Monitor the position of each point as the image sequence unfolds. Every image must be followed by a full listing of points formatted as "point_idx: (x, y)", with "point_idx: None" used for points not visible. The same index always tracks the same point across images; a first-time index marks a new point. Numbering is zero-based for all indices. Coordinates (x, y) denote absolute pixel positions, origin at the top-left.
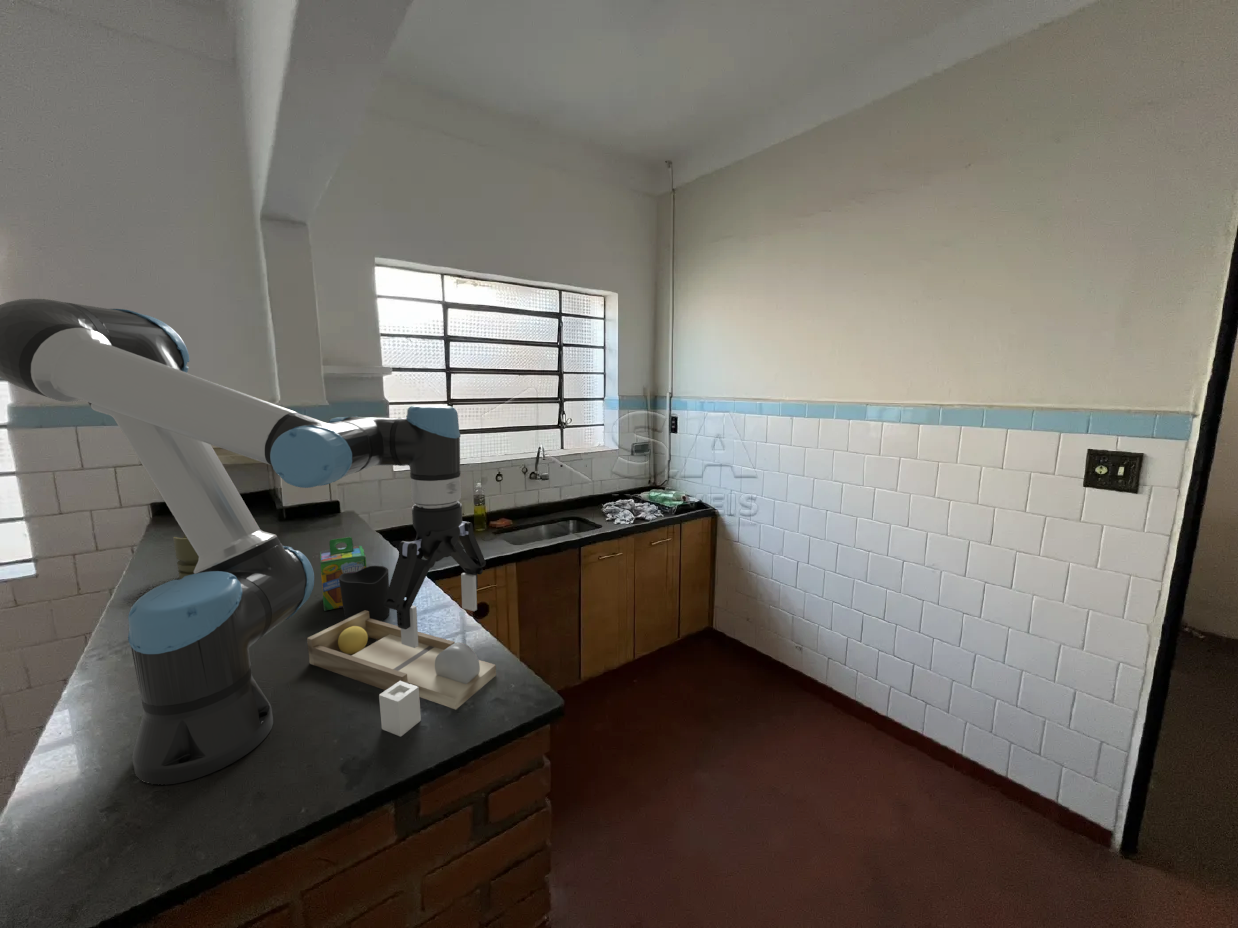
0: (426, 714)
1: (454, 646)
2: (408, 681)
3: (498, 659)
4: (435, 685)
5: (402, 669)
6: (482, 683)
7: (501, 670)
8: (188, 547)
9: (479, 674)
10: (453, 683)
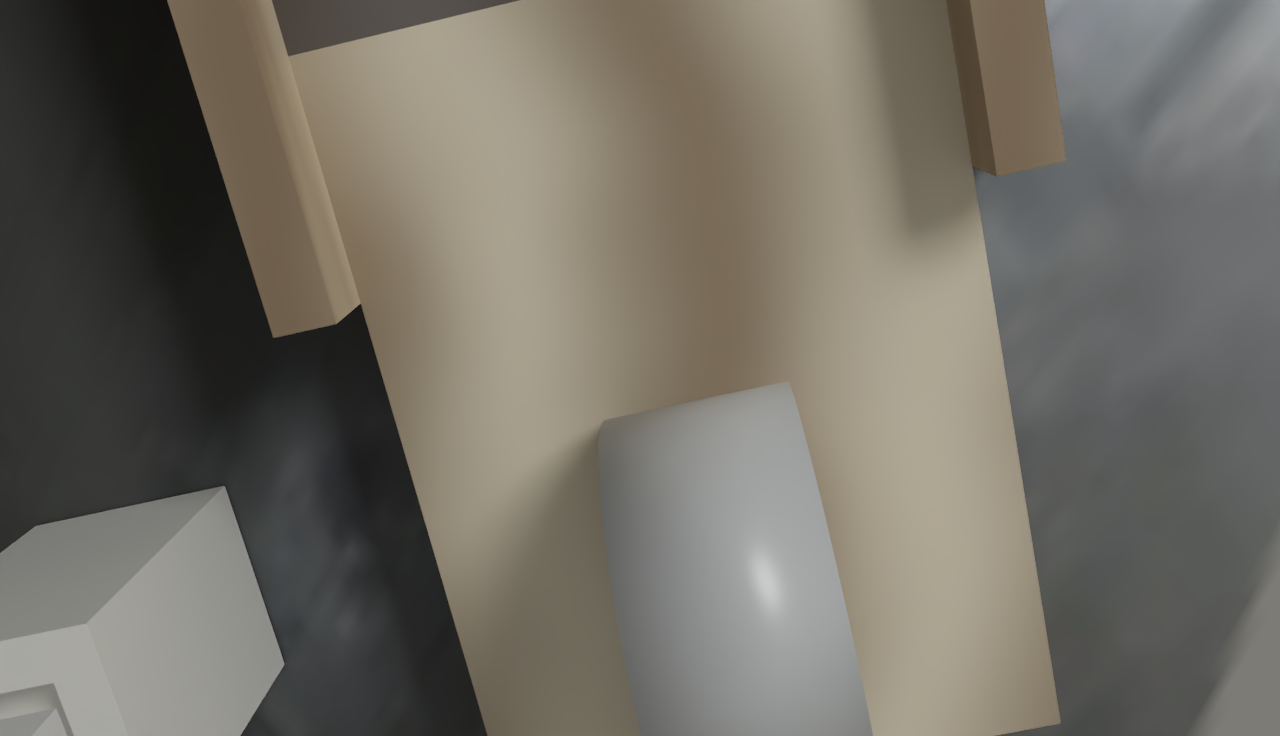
0: (348, 637)
1: (759, 698)
2: (371, 298)
3: (1234, 491)
4: (506, 552)
5: (434, 46)
6: None
7: (1109, 647)
8: None
9: None
10: None
